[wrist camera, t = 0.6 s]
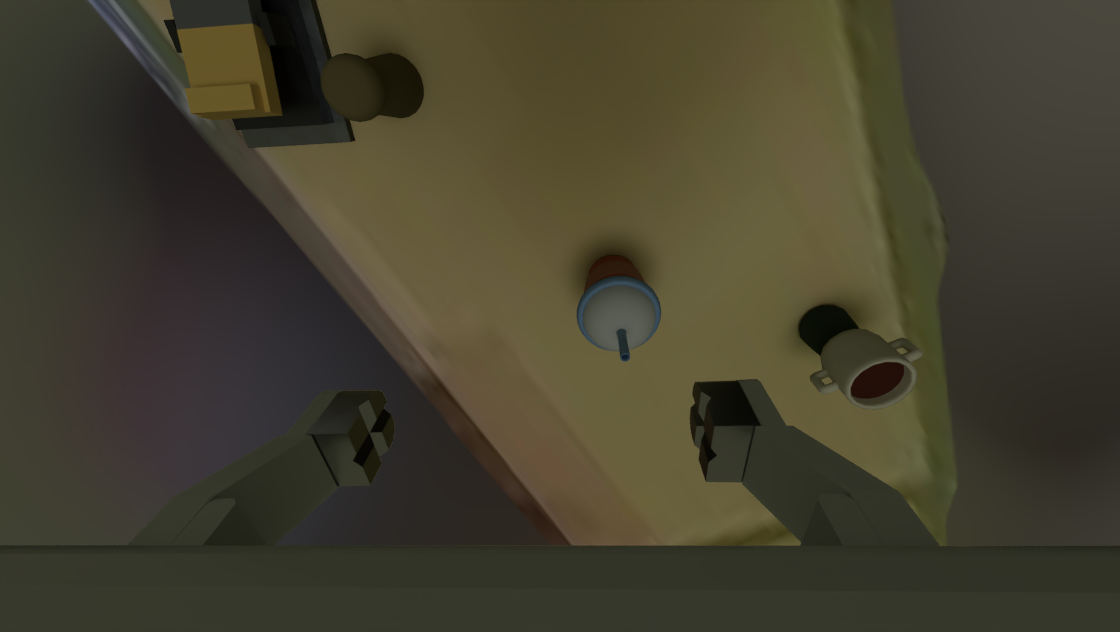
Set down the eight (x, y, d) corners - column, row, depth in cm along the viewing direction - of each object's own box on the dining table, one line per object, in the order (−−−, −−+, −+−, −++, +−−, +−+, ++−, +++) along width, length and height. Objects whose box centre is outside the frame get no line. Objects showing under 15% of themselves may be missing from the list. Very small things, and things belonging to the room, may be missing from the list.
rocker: (171, -55, 36) (138, -76, 34) (247, -62, 36) (220, -84, 33) (213, 120, 40) (185, 113, 37) (282, 115, 39) (260, 108, 37)
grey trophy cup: (789, 359, 59) (838, 425, 48) (772, 322, 56) (819, 383, 45) (870, 324, 56) (944, 387, 45) (856, 283, 53) (931, 339, 42)
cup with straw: (565, 261, 53) (559, 337, 38) (632, 231, 51) (655, 299, 35) (594, 317, 57) (599, 407, 42) (657, 292, 55) (688, 377, 39)
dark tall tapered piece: (435, 94, 44) (395, 98, 35) (396, 130, 46) (349, 143, 37) (393, 39, 42) (339, 27, 33) (354, 79, 44) (292, 79, 35)
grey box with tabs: (162, -88, 38) (88, -117, 32) (287, -101, 37) (234, -133, 31) (254, 146, 48) (210, 156, 42) (355, 140, 47) (323, 149, 41)
